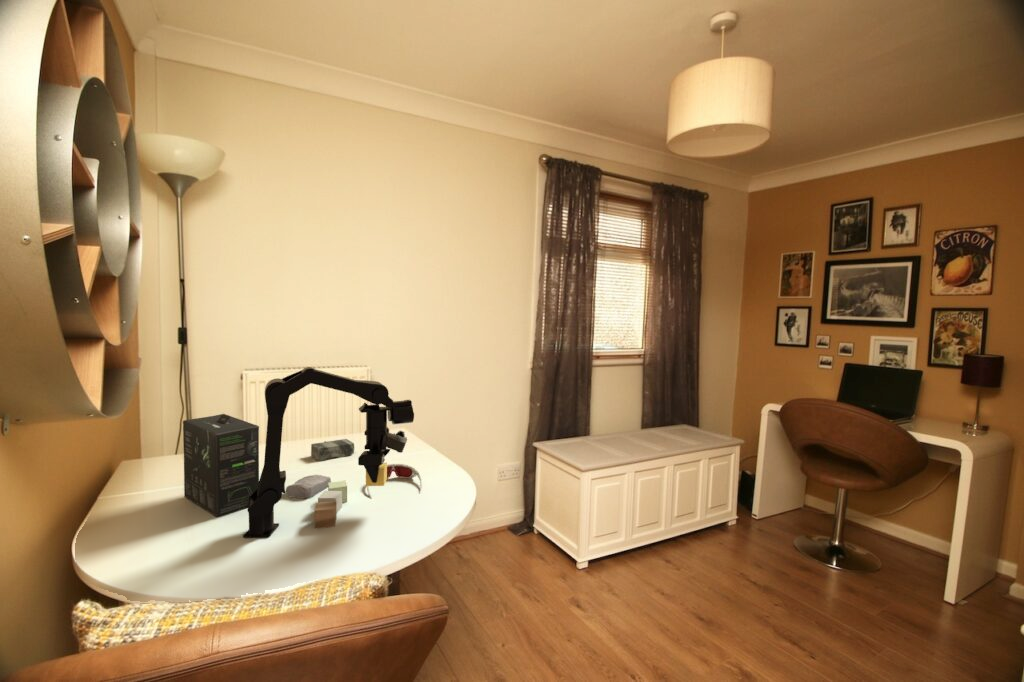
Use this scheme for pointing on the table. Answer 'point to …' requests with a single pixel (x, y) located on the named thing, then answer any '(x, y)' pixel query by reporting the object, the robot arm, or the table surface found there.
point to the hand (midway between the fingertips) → (376, 478)
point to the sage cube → (339, 488)
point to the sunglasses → (401, 473)
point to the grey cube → (331, 498)
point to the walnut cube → (325, 514)
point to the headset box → (220, 463)
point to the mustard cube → (381, 476)
